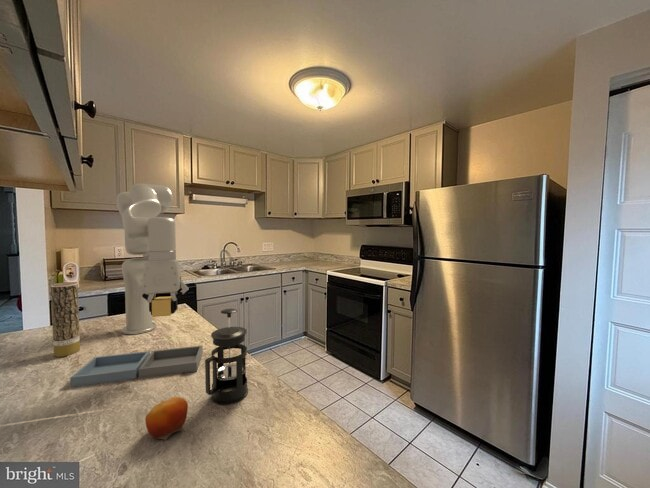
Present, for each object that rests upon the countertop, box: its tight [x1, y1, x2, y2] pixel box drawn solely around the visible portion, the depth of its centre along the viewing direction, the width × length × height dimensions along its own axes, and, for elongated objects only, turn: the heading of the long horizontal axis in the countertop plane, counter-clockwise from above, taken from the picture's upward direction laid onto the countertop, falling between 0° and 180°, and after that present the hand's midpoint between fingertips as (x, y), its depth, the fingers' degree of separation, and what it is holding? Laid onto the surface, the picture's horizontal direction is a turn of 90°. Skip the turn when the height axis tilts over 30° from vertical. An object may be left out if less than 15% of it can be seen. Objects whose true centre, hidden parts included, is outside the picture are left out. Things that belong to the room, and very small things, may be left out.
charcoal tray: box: [138, 345, 203, 379], centre depth 89 cm, size 13×16×3 cm
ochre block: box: [152, 295, 173, 318], centre depth 87 cm, size 5×5×5 cm
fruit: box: [145, 396, 189, 441], centre depth 60 cm, size 8×8×8 cm
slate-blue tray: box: [69, 350, 151, 388], centre depth 84 cm, size 13×16×3 cm
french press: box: [204, 308, 249, 406], centre depth 73 cm, size 12×9×23 cm
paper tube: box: [50, 281, 81, 358], centre depth 97 cm, size 7×7×25 cm
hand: (163, 312), depth 87 cm, fingers closed on ochre block, 5 cm apart
